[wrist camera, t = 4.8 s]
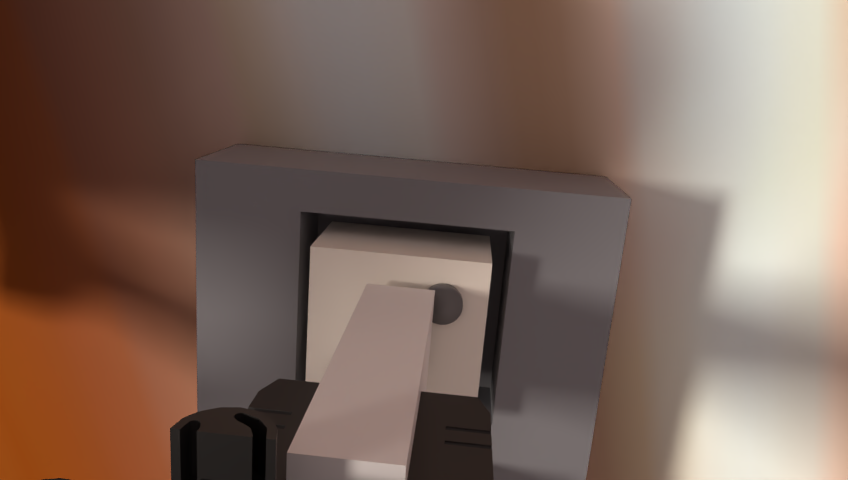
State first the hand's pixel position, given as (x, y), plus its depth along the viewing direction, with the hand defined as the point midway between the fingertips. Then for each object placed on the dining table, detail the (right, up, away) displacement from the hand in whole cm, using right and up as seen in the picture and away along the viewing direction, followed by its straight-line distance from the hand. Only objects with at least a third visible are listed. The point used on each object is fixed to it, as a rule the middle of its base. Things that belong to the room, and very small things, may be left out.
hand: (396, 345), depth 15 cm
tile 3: (0, +1, +3) cm, 3 cm away
